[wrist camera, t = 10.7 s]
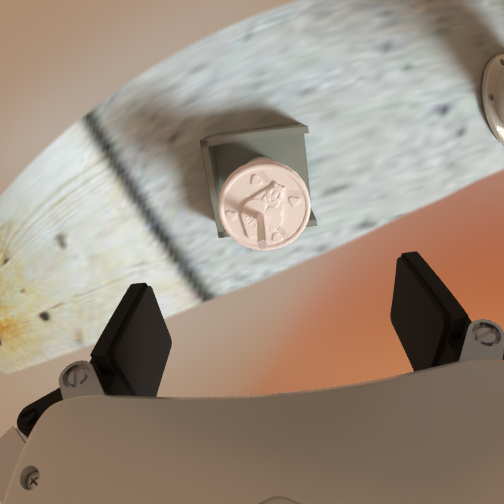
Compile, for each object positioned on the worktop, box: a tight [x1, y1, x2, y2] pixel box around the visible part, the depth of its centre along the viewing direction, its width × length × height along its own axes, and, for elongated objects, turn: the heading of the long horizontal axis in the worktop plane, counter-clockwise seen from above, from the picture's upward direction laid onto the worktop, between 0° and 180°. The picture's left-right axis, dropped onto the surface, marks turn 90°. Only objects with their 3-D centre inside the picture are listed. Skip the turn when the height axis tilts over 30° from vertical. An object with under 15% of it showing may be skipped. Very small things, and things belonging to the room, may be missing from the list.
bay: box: [200, 124, 317, 238], centre depth 28 cm, size 9×9×4 cm
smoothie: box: [218, 157, 311, 250], centre depth 23 cm, size 6×6×14 cm
